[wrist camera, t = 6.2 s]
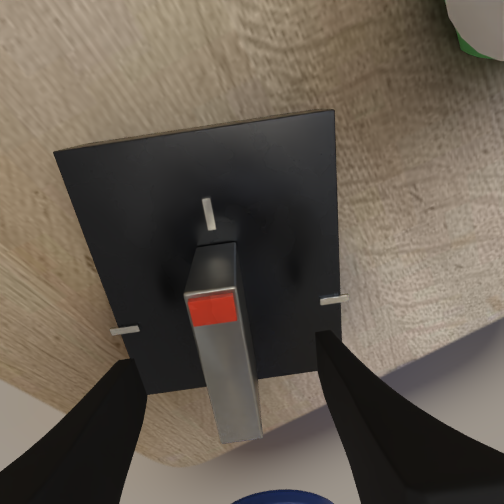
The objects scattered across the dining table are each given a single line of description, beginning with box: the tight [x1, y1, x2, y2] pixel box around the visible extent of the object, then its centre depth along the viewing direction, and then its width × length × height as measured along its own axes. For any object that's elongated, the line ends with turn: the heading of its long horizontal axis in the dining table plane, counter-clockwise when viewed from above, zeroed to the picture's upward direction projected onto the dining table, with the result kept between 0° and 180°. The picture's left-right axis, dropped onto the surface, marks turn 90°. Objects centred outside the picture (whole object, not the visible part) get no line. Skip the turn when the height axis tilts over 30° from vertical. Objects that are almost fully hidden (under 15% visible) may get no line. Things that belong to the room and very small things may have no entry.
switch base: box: [53, 109, 349, 395], centre depth 17 cm, size 14×12×3 cm
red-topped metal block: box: [184, 242, 263, 444], centre depth 14 cm, size 8×2×4 cm, turn 7°
